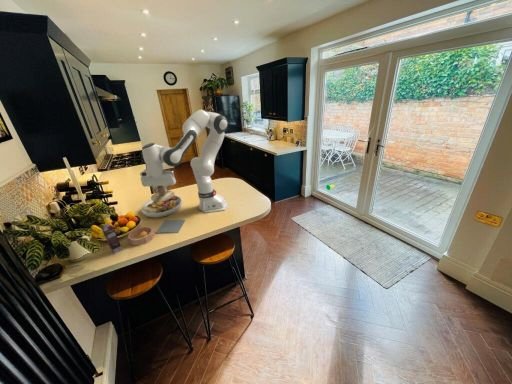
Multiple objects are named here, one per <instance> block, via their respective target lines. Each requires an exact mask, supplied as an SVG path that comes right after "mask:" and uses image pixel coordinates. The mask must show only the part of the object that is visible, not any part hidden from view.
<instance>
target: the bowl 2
mask: <svg viewBox="0 0 512 384" xmlns="http://www.w3.org/2000/svg"><path fill="white" fill-rule="evenodd" d="M182 205H183V199H182V198H181V197H180V196H178V195H174V196H173V197H172V198H170V199H168V200H165V201H161V202H155V201H152V200H151V199H150V200H147V201H145V202H144V203H143V204H142V206H141V208H140V210H141V213H142V214H143V215H144V216H146V217H148V218H163V217H166V216H167V217H168V216H170V215H172V214H174V213H176V212H177V211H179V210H180V208H181V207H182Z"/></svg>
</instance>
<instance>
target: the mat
mask: <svg viewBox="0 0 512 384" xmlns="http://www.w3.org/2000/svg"><path fill="white" fill-rule="evenodd" d="M185 222H186V219H164V221H162V223H161V225H160V226H159V227H158V228H157V230H156V231H155V234H178V233H179V232H180V231H181V229H182V227H183V226H184V224H185Z"/></svg>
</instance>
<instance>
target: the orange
mask: <svg viewBox="0 0 512 384" xmlns="http://www.w3.org/2000/svg"><path fill="white" fill-rule="evenodd" d="M148 234H149V233H148V232H145V231H143V232H141V233H140V234H139V238H143V237H145V236H147V235H148Z"/></svg>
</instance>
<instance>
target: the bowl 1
mask: <svg viewBox="0 0 512 384" xmlns="http://www.w3.org/2000/svg"><path fill="white" fill-rule="evenodd" d="M143 231H145V232H147V234H148V235H147V236H145V237H143V238H141V237H139V238H136V236H139V235H140V233H141V232H143ZM154 231H155V230H154V229H153V227H152V226H148V225H147V226H145V225H144V226H141V227H138V228H135V229H134V230H132V231H130V232H129V234H128V235H127V237H128V241H129V243H130V244H131V245H132V246H142V245H144V244H147V243H149V242H151V241H152V240H153V239H154V238H155V232H154Z"/></svg>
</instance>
